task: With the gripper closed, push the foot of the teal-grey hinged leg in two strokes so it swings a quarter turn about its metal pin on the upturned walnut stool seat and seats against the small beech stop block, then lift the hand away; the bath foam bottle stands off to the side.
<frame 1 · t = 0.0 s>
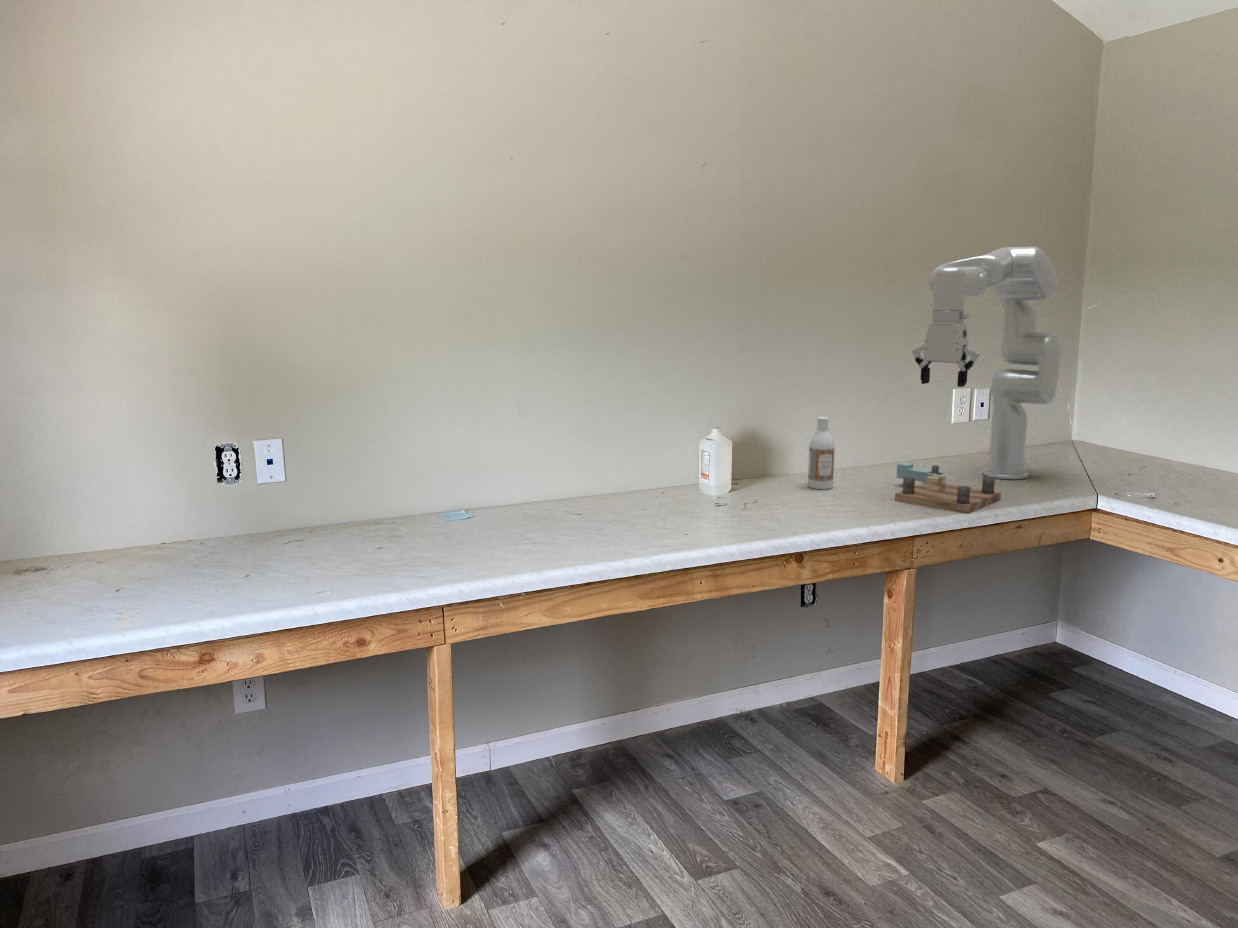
hand: (943, 384, 235), 31 cm above the table, tool pointing down, fingers open, 9 cm apart
bath foam: (820, 487, 260), on the table
leg: (919, 473, 257), point 4 cm above the table, hinge at -90.0°
stool seat: (947, 499, 244), on the table
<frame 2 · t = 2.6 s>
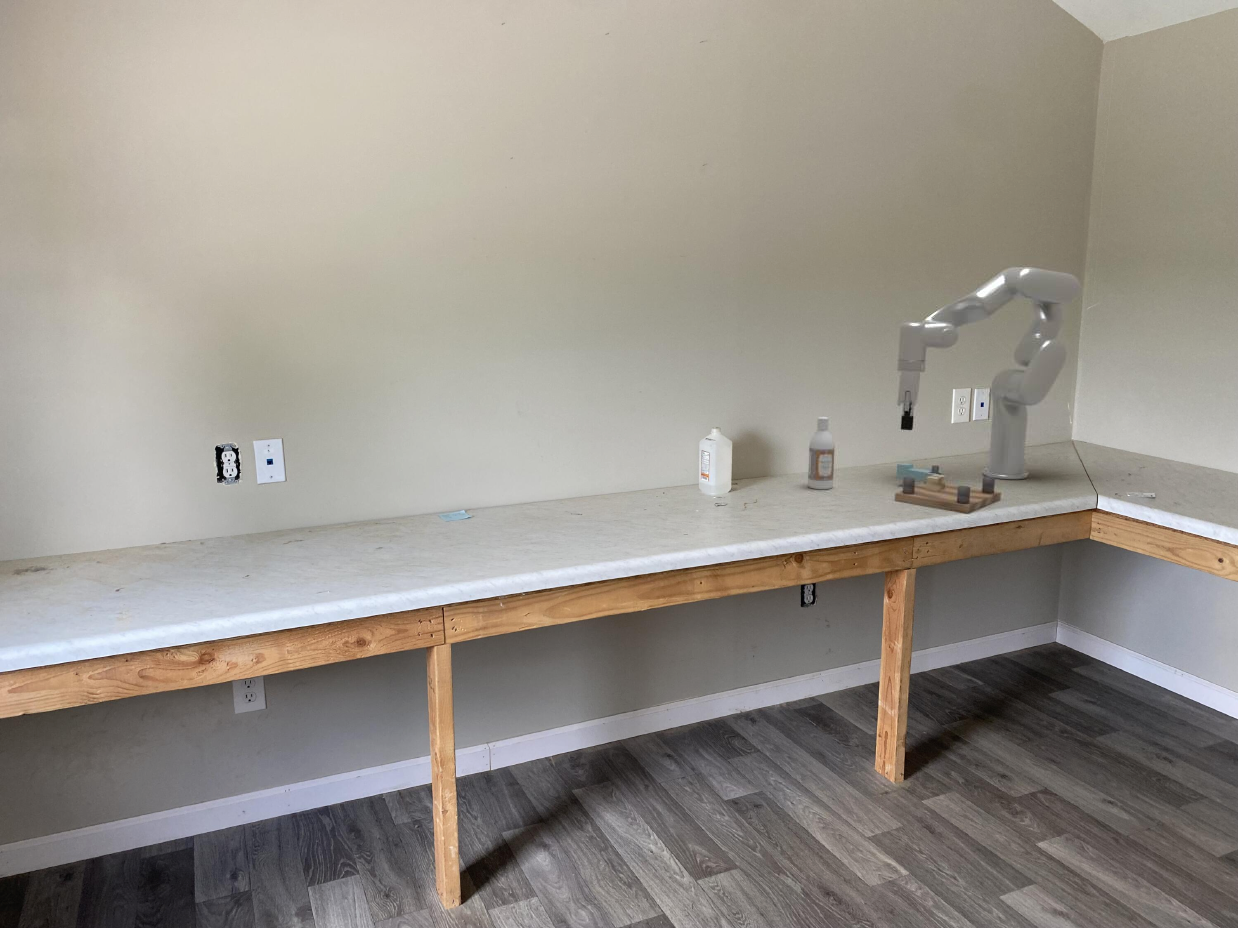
hand: (906, 429, 264), 15 cm above the table, tool pointing down, fingers closed
nothing on the table moved.
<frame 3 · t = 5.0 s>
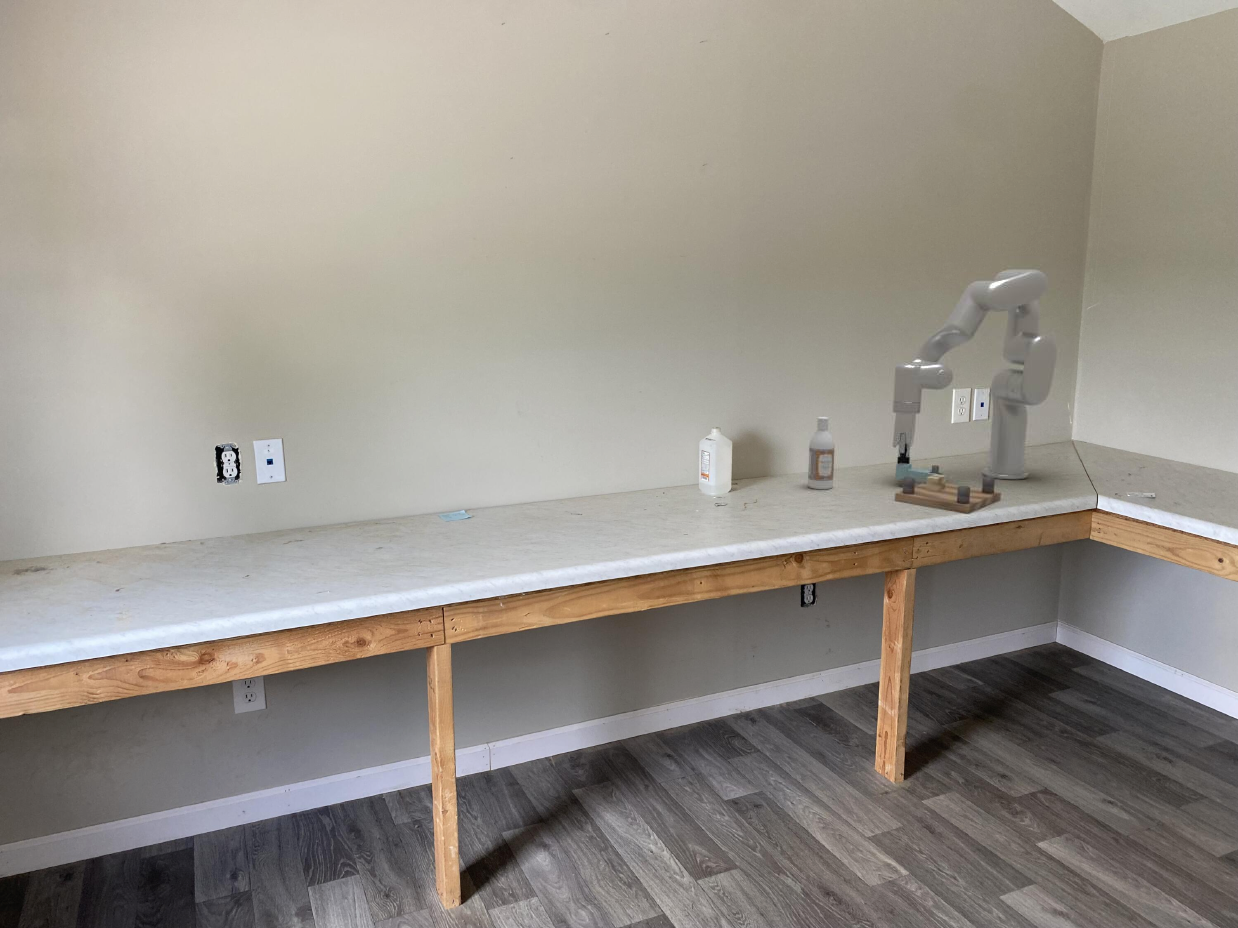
hand: (902, 470, 263), 4 cm above the table, tool pointing down, fingers closed
leg: (918, 473, 256), point 4 cm above the table, hinge at -84.7°, touching gripper
everything else where it was.
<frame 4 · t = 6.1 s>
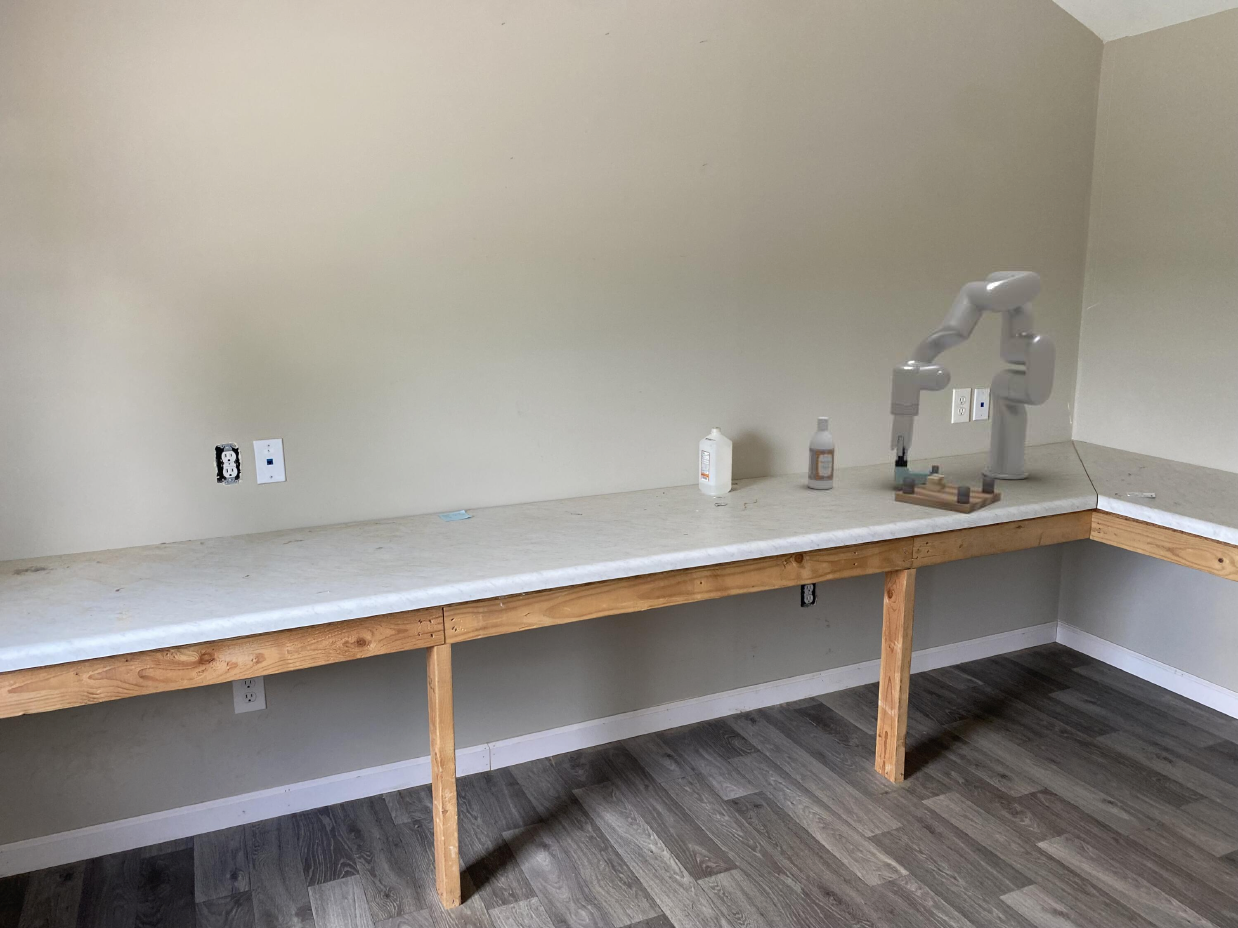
hand: (900, 473, 258), 4 cm above the table, tool pointing down, fingers closed
leg: (917, 475, 254), point 4 cm above the table, hinge at -52.2°, touching gripper
everything else where it was.
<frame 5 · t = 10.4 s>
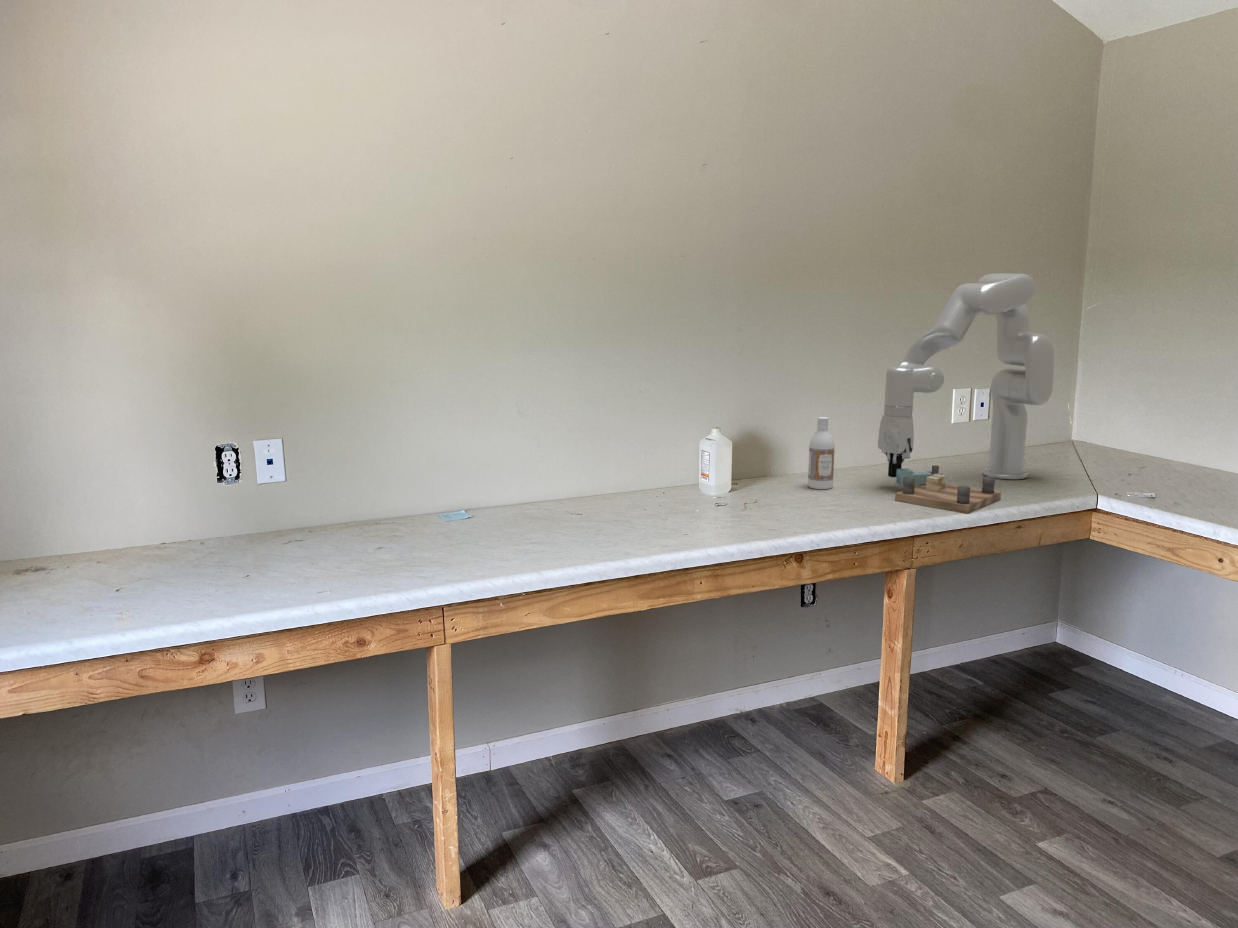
hand: (894, 476, 256), 4 cm above the table, tool pointing down, fingers closed
leg: (919, 476, 253), point 4 cm above the table, hinge at -36.5°, touching gripper
everything else where it was.
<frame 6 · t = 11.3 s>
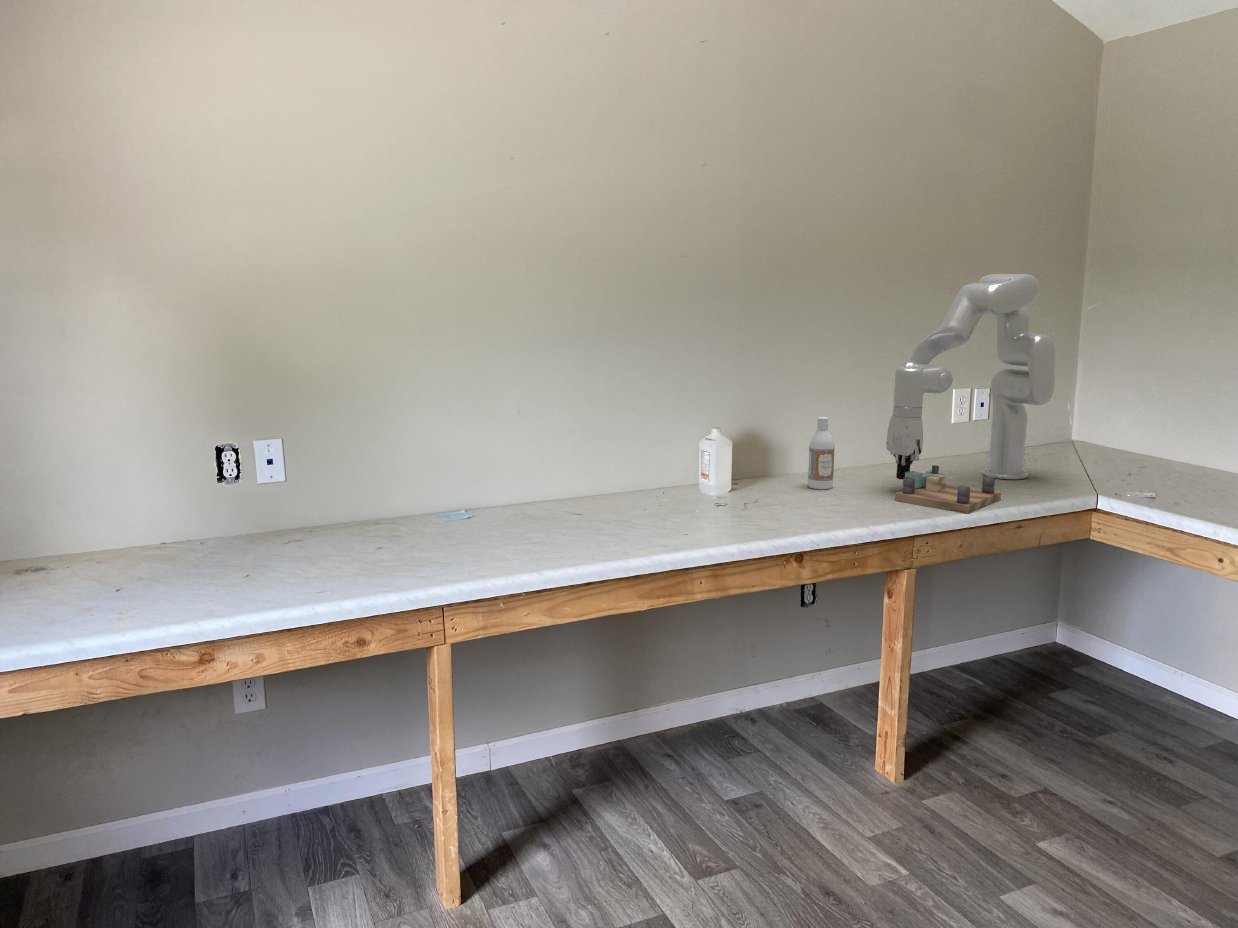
hand: (902, 478, 252), 4 cm above the table, tool pointing down, fingers closed
leg: (923, 477, 251), point 4 cm above the table, hinge at -11.9°, touching gripper
everything else where it was.
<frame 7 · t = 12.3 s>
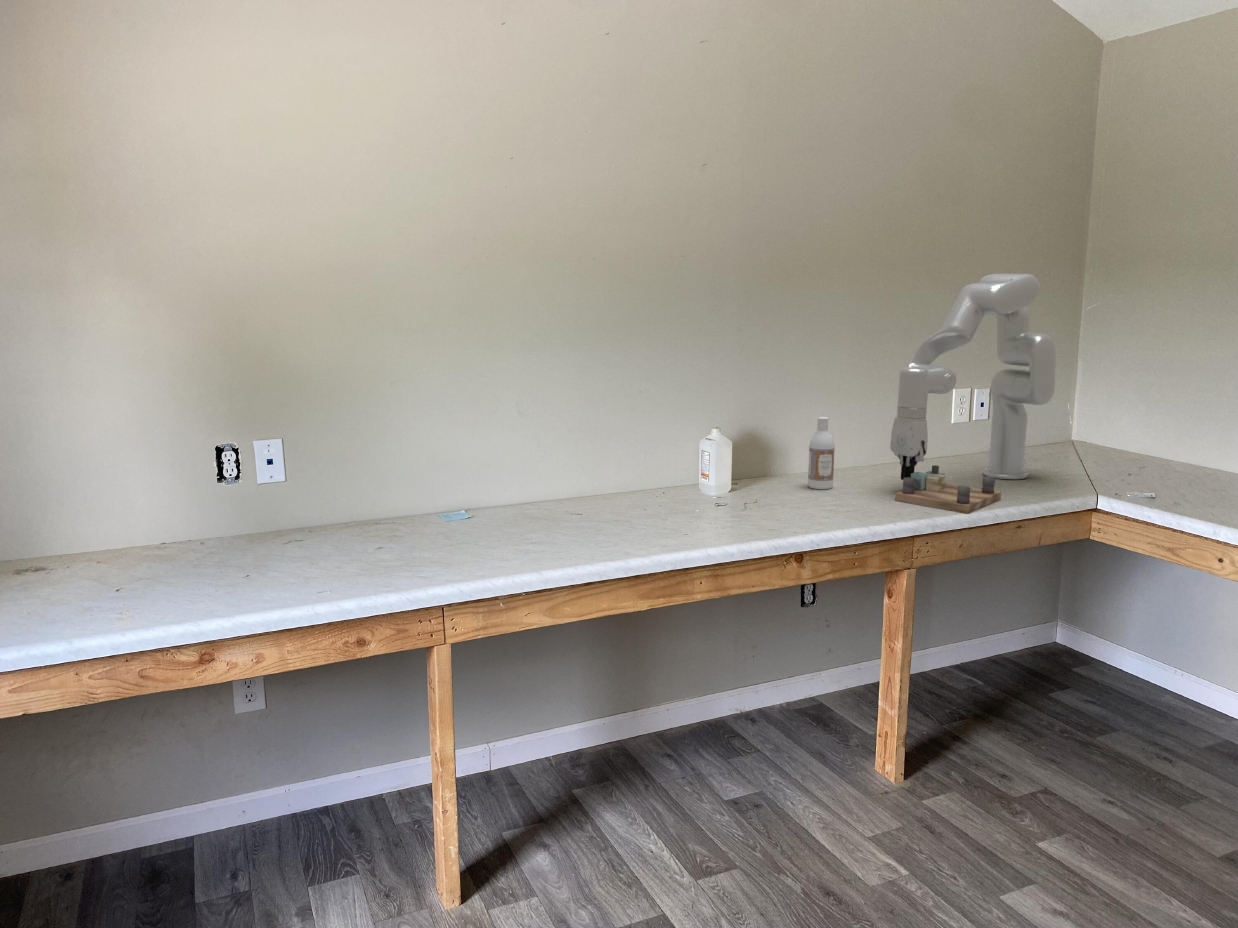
hand: (907, 479, 250), 4 cm above the table, tool pointing down, fingers closed
leg: (926, 478, 250), point 4 cm above the table, hinge at -1.2°, touching gripper
everything else where it was.
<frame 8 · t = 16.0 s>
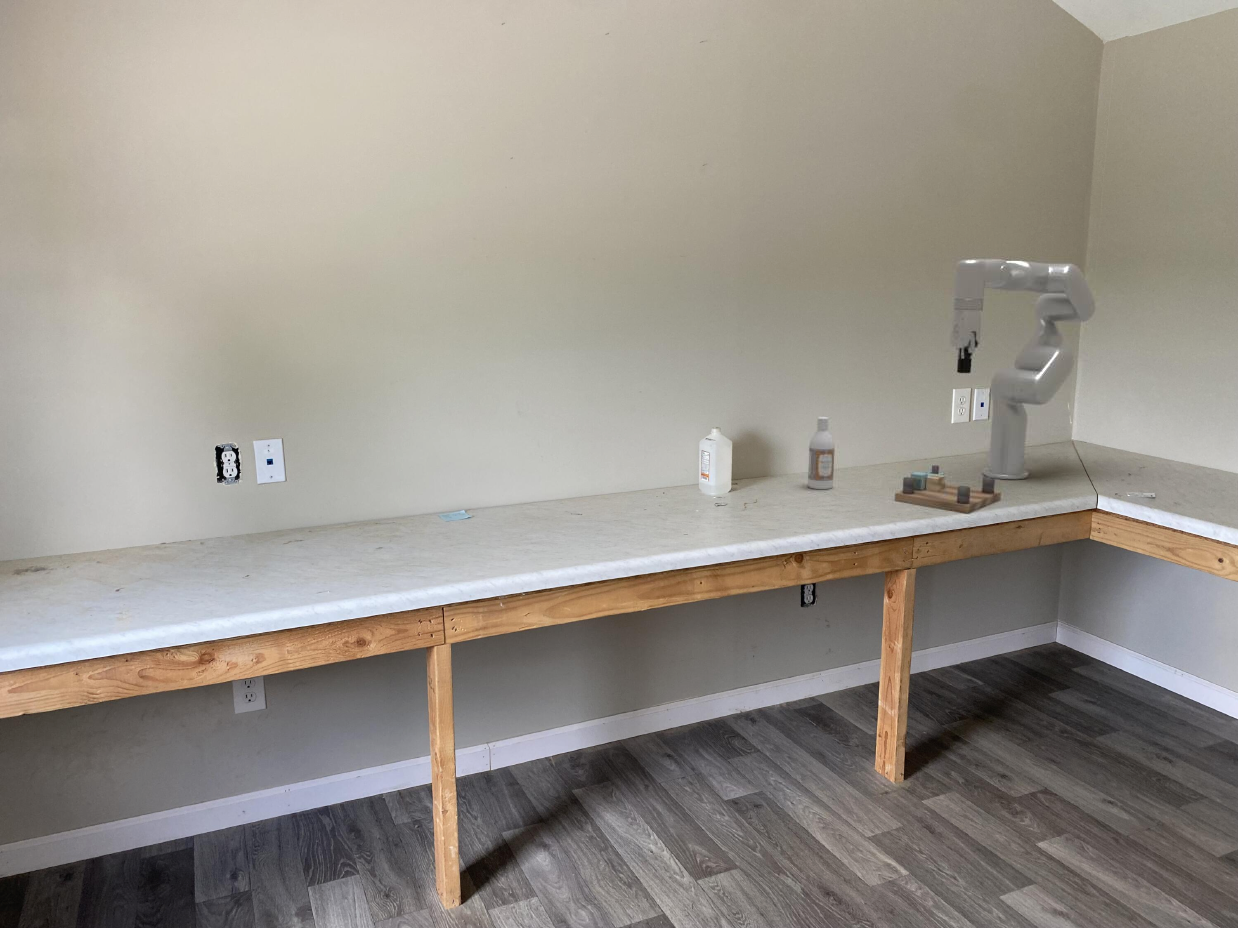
hand: (963, 372, 254), 32 cm above the table, tool pointing down, fingers closed
leg: (926, 478, 250), point 4 cm above the table, hinge at -1.1°
everything else where it was.
at the end: leg at -1° (first picture: -90°) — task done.
